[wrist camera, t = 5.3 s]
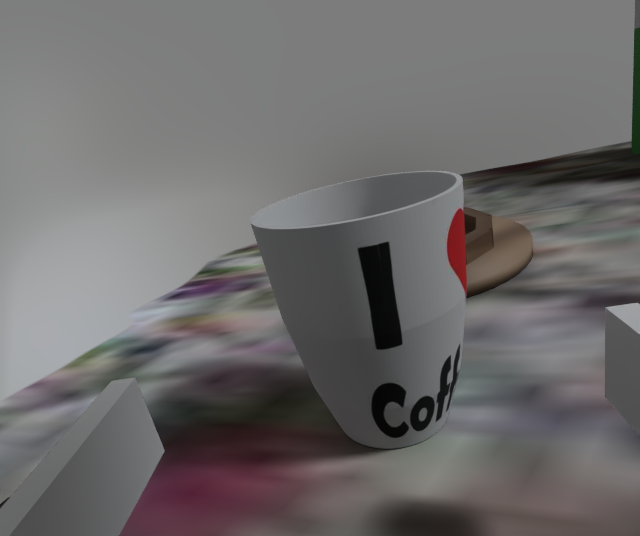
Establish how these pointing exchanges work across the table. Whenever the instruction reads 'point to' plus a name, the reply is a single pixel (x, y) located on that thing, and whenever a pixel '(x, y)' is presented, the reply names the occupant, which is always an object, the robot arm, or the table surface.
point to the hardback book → (636, 83)
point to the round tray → (493, 250)
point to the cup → (374, 297)
